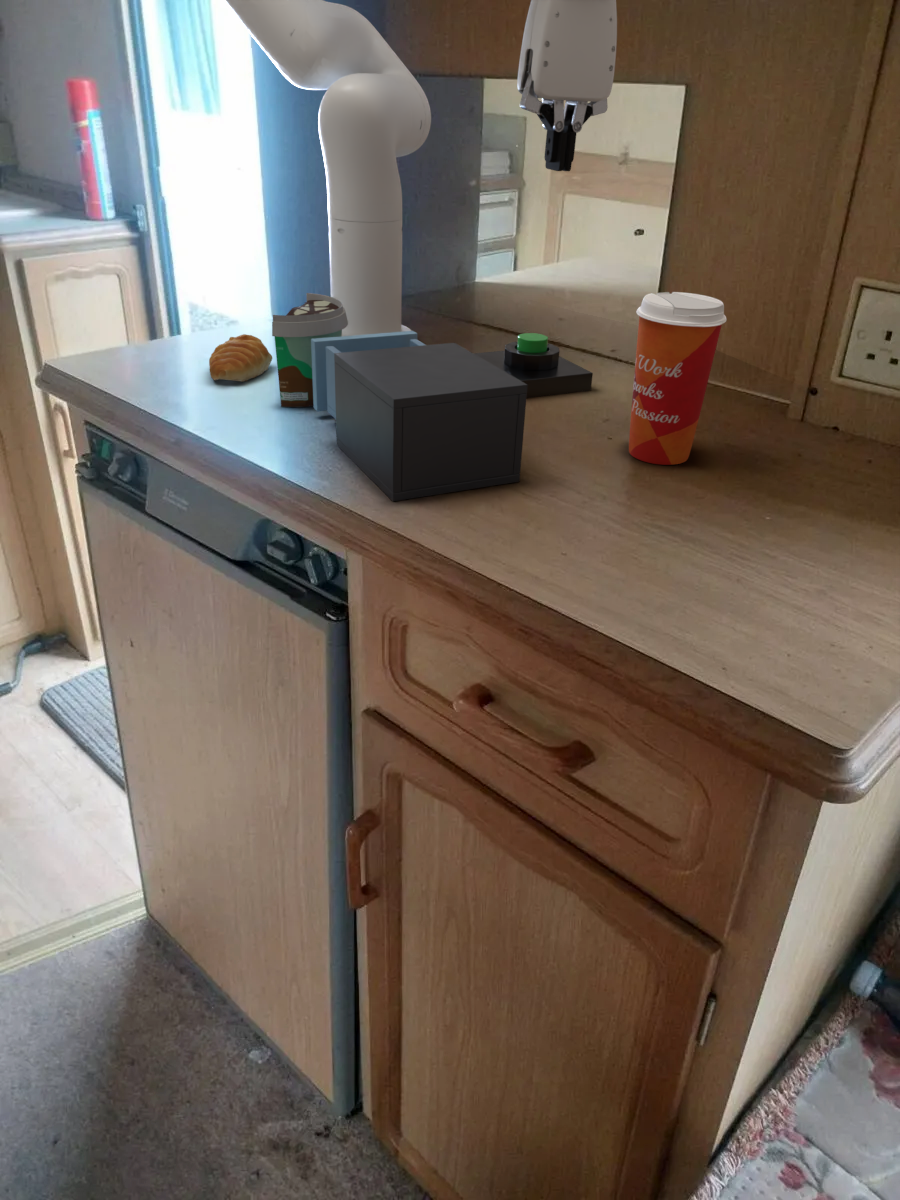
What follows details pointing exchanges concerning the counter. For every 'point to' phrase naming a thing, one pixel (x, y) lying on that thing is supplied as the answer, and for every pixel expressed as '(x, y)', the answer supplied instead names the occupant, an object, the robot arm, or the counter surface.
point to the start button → (532, 343)
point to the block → (541, 370)
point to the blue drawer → (328, 346)
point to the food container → (303, 344)
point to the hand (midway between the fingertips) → (557, 169)
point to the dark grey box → (429, 419)
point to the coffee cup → (672, 373)
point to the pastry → (239, 359)
